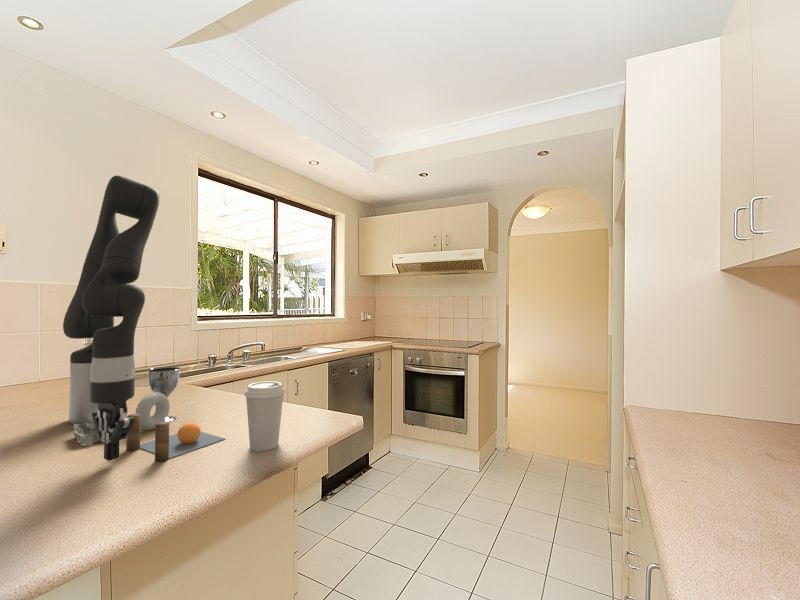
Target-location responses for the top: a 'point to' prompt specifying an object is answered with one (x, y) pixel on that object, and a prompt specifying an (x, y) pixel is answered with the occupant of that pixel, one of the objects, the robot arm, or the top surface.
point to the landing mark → (181, 448)
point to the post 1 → (133, 434)
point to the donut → (145, 408)
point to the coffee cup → (264, 414)
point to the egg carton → (86, 433)
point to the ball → (189, 433)
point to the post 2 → (161, 441)
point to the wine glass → (164, 382)
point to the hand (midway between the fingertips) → (111, 458)
